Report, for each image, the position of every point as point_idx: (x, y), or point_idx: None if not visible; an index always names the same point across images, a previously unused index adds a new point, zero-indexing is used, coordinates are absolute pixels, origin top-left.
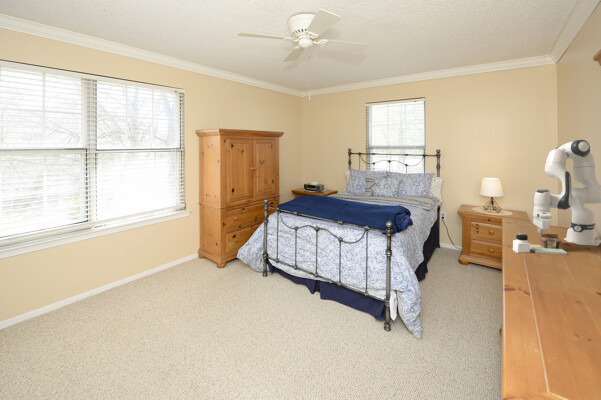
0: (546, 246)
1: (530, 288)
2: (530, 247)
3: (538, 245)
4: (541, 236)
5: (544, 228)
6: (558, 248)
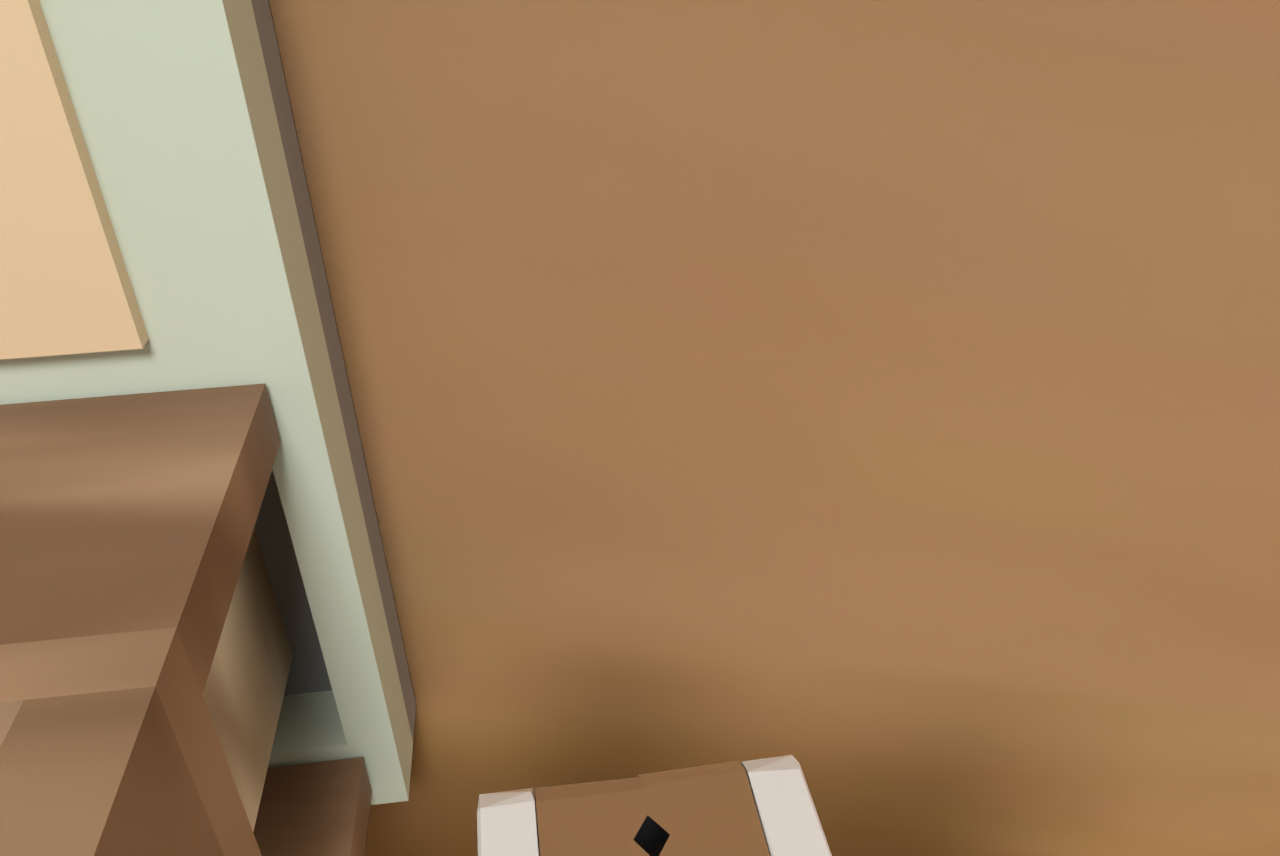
0: None
1: None
2: None
3: (48, 302)
4: (7, 752)
5: None
6: None
